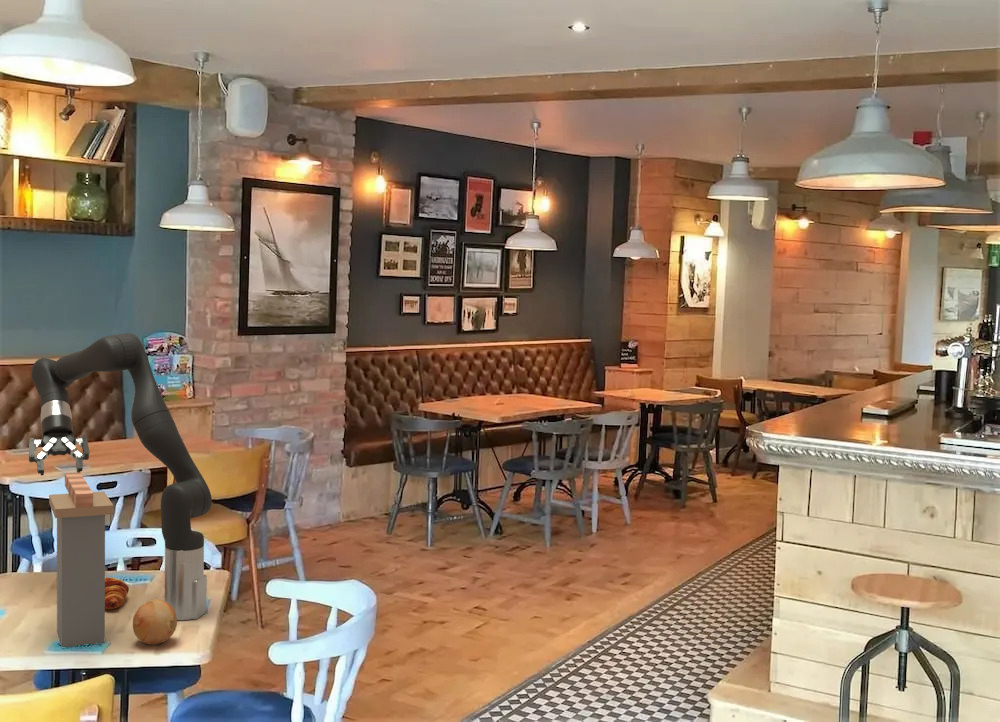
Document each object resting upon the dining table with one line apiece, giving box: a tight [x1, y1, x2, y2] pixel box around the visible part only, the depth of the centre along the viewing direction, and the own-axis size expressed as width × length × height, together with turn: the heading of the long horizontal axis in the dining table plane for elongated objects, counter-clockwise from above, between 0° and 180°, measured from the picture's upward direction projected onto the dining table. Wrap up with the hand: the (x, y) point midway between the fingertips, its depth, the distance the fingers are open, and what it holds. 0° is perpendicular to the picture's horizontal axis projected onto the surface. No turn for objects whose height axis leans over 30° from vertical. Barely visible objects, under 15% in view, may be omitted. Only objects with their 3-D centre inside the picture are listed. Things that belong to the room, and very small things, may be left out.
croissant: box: [105, 576, 130, 610], centre depth 266 cm, size 21×10×8 cm, turn 31°
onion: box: [132, 598, 178, 646], centre depth 237 cm, size 10×10×10 cm
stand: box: [48, 491, 114, 648], centre depth 239 cm, size 16×12×32 cm
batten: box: [64, 471, 94, 508], centre depth 242 cm, size 26×4×3 cm, turn 28°
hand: (60, 472), depth 264 cm, fingers open, 8 cm apart
